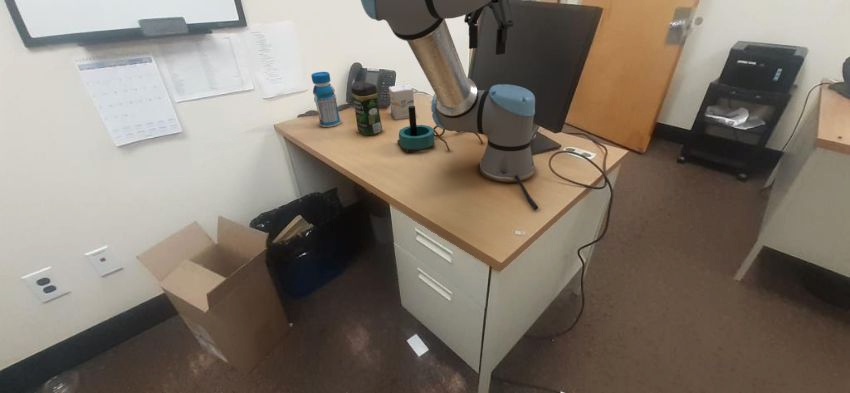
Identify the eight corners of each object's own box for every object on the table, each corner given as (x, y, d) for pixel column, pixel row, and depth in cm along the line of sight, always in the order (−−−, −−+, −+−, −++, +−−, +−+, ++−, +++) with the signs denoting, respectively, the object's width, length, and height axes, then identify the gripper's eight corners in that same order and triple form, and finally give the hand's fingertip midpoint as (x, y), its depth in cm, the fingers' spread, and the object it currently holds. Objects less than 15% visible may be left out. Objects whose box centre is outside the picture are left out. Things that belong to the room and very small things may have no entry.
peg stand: (432, 147, 117) (430, 107, 110) (408, 153, 114) (404, 113, 107) (420, 138, 124) (418, 100, 117) (397, 143, 121) (393, 105, 114)
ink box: (390, 113, 149) (387, 86, 142) (409, 111, 151) (407, 83, 144) (395, 120, 142) (392, 91, 135) (415, 117, 144) (413, 88, 137)
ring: (440, 144, 115) (440, 133, 113) (408, 152, 111) (407, 140, 109) (425, 133, 124) (424, 122, 122) (395, 140, 120) (393, 129, 118)
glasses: (465, 131, 127) (465, 118, 125) (483, 144, 117) (483, 130, 114) (432, 138, 123) (431, 125, 121) (448, 152, 113) (447, 137, 110)
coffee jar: (354, 131, 133) (346, 82, 123) (372, 126, 137) (365, 77, 128) (367, 138, 127) (359, 86, 117) (385, 132, 131) (379, 82, 121)
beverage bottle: (330, 128, 137) (319, 76, 127) (315, 125, 141) (303, 75, 131) (345, 122, 143) (336, 71, 133) (330, 119, 147) (320, 70, 136)
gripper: (532, -37, 85) (523, 54, 97) (474, -32, 104) (472, 44, 116) (508, -36, 83) (502, 58, 94) (452, -31, 102) (453, 47, 113)
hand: (486, 51), depth 105 cm, fingers open, 13 cm apart
